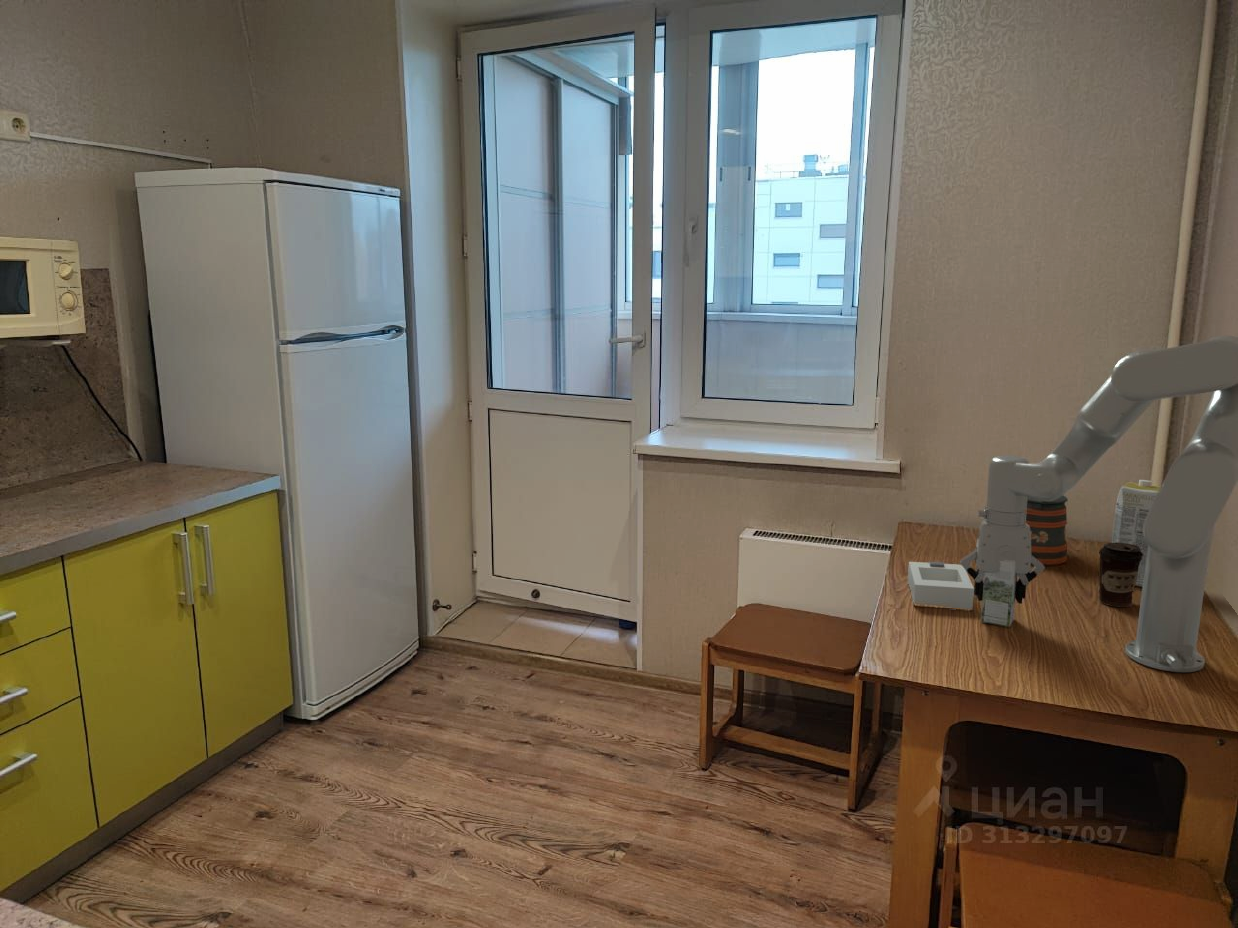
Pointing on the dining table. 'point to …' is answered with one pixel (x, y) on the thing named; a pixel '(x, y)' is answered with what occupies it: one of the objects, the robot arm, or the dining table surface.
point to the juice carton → (1134, 517)
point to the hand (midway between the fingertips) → (999, 599)
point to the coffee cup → (1118, 573)
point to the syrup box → (999, 595)
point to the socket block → (940, 585)
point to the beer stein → (1048, 530)
